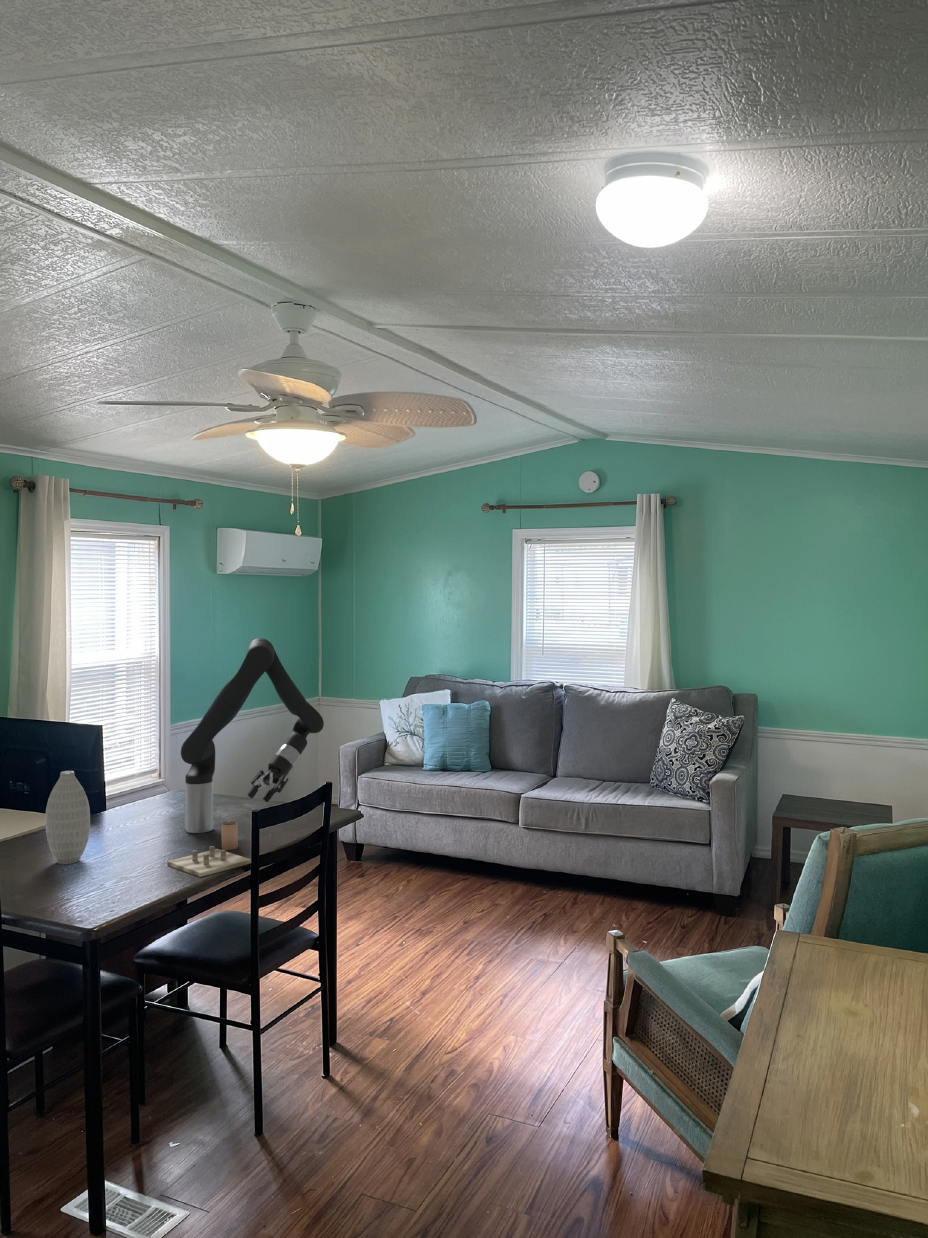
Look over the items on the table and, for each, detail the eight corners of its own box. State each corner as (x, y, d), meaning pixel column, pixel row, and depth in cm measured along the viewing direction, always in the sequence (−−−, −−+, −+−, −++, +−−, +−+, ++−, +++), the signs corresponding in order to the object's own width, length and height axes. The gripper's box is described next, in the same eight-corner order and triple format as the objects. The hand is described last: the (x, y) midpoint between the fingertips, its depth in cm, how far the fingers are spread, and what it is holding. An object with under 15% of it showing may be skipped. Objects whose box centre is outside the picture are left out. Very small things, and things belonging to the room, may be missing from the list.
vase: (46, 858, 286) (45, 769, 286) (90, 854, 291) (89, 766, 291) (45, 869, 275) (44, 777, 274) (90, 864, 280) (89, 773, 279)
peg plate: (167, 865, 279) (167, 851, 279) (217, 852, 292) (217, 839, 292) (200, 877, 267) (200, 862, 267) (251, 863, 281) (251, 849, 281)
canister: (218, 848, 298) (218, 821, 298) (231, 844, 302) (231, 818, 302) (227, 850, 295) (227, 823, 294) (241, 847, 299) (240, 820, 298)
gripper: (265, 751, 317) (238, 789, 309) (291, 756, 308) (263, 795, 300) (277, 764, 321) (251, 802, 313) (303, 769, 312) (276, 808, 304)
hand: (257, 798), depth 306 cm, fingers open, 8 cm apart
